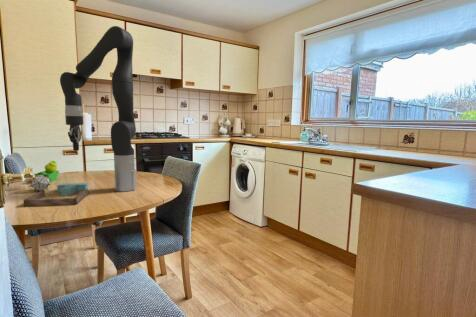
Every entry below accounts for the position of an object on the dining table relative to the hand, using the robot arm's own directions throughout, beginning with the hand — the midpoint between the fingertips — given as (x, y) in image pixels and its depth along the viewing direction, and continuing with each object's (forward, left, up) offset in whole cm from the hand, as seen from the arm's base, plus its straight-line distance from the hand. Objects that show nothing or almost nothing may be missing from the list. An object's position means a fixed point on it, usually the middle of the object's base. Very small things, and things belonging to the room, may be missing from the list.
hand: (76, 150), depth 142 cm
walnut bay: (0, +24, -18) cm, 30 cm away
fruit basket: (+19, -14, -19) cm, 30 cm away
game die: (+14, +7, -19) cm, 24 cm away
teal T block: (0, +11, -18) cm, 21 cm away
